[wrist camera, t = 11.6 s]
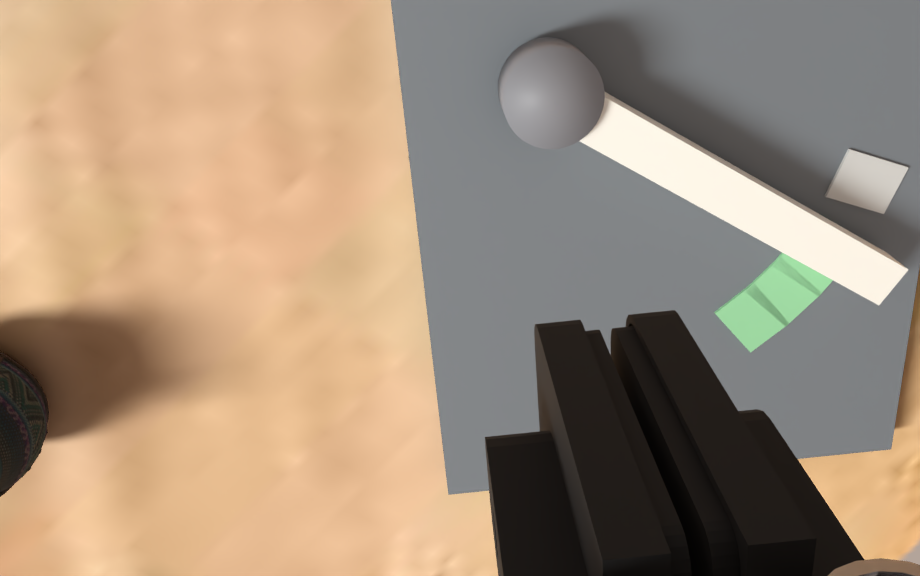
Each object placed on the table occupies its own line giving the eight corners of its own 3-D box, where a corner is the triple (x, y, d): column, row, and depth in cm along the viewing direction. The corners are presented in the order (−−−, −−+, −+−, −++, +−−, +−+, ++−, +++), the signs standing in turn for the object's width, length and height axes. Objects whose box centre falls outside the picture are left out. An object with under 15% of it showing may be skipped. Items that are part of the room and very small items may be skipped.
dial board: (388, -31, 35) (387, -28, 34) (953, -87, 36) (976, -85, 34) (447, 476, 47) (448, 496, 45) (877, 432, 47) (892, 451, 45)
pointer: (480, 106, 36) (484, 120, 34) (528, 18, 35) (536, 27, 32) (844, 303, 41) (868, 327, 39) (900, 234, 40) (928, 254, 37)
